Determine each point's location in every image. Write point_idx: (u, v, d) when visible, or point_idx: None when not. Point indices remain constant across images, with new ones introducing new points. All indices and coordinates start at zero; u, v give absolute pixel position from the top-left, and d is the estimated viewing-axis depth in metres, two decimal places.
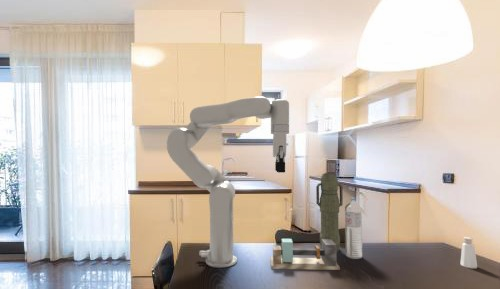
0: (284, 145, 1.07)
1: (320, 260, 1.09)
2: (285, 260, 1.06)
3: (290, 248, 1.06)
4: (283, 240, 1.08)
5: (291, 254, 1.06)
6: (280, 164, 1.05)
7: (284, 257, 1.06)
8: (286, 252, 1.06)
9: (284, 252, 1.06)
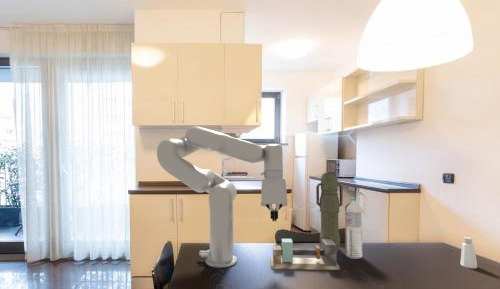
0: None
1: (320, 260, 1.09)
2: (285, 260, 1.06)
3: (290, 248, 1.06)
4: (283, 240, 1.08)
5: (291, 254, 1.06)
6: (277, 212, 1.09)
7: (284, 257, 1.06)
8: (286, 252, 1.06)
9: (284, 252, 1.06)
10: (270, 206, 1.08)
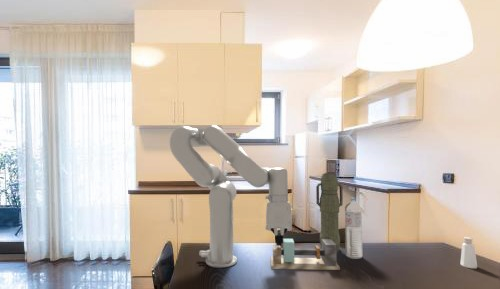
0: None
1: (320, 260, 1.09)
2: (287, 260, 1.06)
3: (292, 248, 1.06)
4: (284, 240, 1.08)
5: (293, 254, 1.06)
6: (282, 236, 1.08)
7: (286, 257, 1.06)
8: (288, 252, 1.06)
9: (286, 252, 1.06)
10: (275, 230, 1.07)
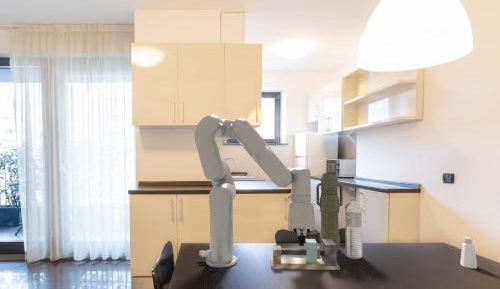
0: None
1: (320, 260, 1.09)
2: (309, 260, 1.06)
3: (314, 248, 1.06)
4: (307, 240, 1.08)
5: (316, 254, 1.06)
6: None
7: (308, 257, 1.06)
8: (311, 252, 1.06)
9: (308, 252, 1.06)
10: (297, 230, 1.07)
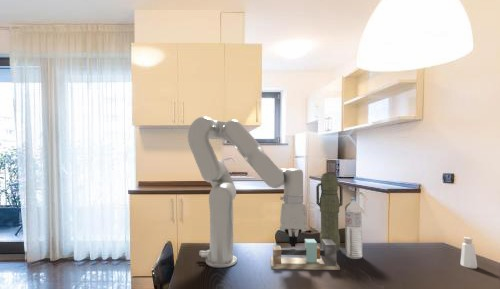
0: None
1: (320, 260, 1.09)
2: (309, 260, 1.06)
3: (314, 248, 1.06)
4: (307, 240, 1.08)
5: (315, 254, 1.06)
6: (296, 238, 1.08)
7: (308, 257, 1.06)
8: (310, 252, 1.06)
9: (308, 252, 1.06)
10: (289, 231, 1.07)
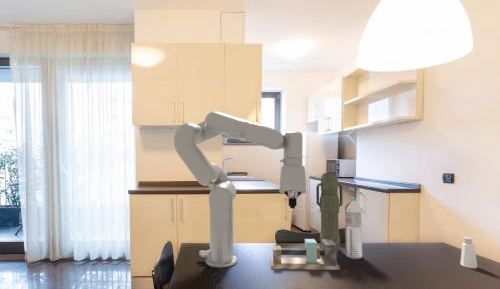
0: None
1: (320, 260, 1.09)
2: (309, 260, 1.06)
3: (314, 248, 1.06)
4: (307, 240, 1.08)
5: (315, 254, 1.06)
6: None
7: (308, 257, 1.06)
8: (310, 252, 1.06)
9: (308, 252, 1.06)
10: (289, 193, 1.08)
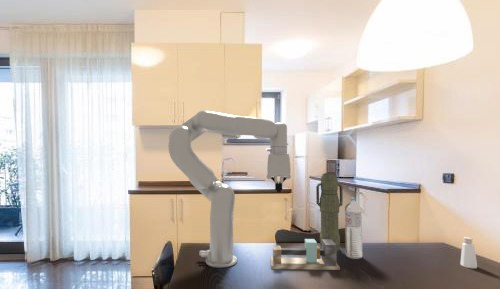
0: None
1: (320, 260, 1.09)
2: (309, 260, 1.06)
3: (314, 248, 1.06)
4: (307, 240, 1.08)
5: (315, 254, 1.06)
6: None
7: (308, 257, 1.06)
8: (310, 252, 1.06)
9: (308, 252, 1.06)
10: (275, 179, 1.20)
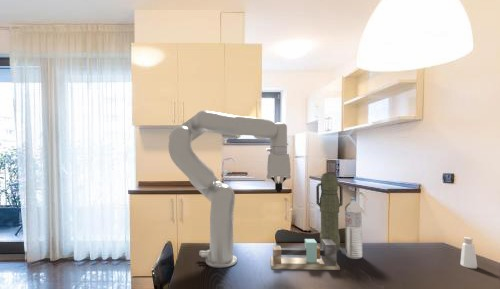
0: None
1: (320, 260, 1.09)
2: (309, 260, 1.06)
3: (314, 248, 1.06)
4: (307, 240, 1.08)
5: (315, 254, 1.06)
6: None
7: (308, 257, 1.06)
8: (310, 252, 1.06)
9: (308, 252, 1.06)
10: (275, 179, 1.20)
